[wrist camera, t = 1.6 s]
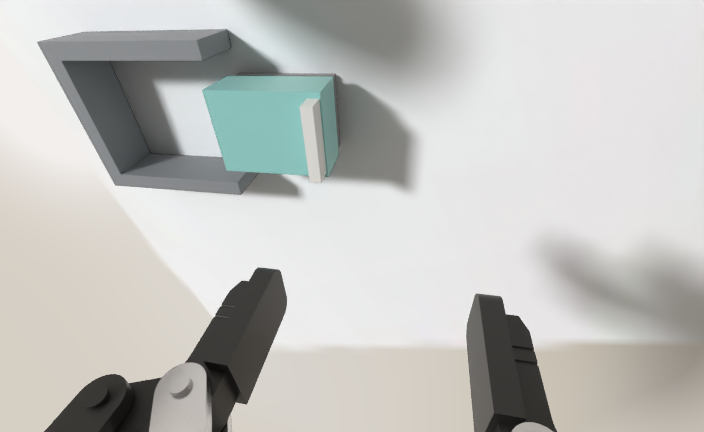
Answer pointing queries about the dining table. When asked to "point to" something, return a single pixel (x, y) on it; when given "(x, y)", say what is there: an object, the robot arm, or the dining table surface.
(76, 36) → the bay
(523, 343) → the robot arm
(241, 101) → the teal box with handle
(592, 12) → the dining table surface
